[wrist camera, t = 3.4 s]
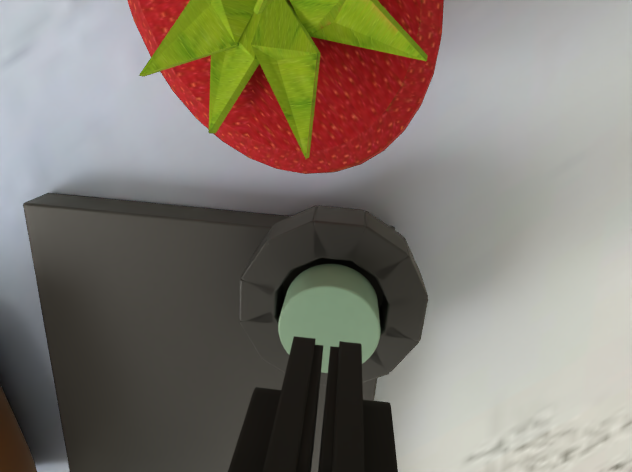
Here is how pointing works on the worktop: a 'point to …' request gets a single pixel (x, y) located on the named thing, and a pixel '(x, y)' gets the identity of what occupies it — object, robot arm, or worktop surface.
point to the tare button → (331, 310)
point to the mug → (12, 442)
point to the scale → (192, 319)
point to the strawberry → (296, 72)
